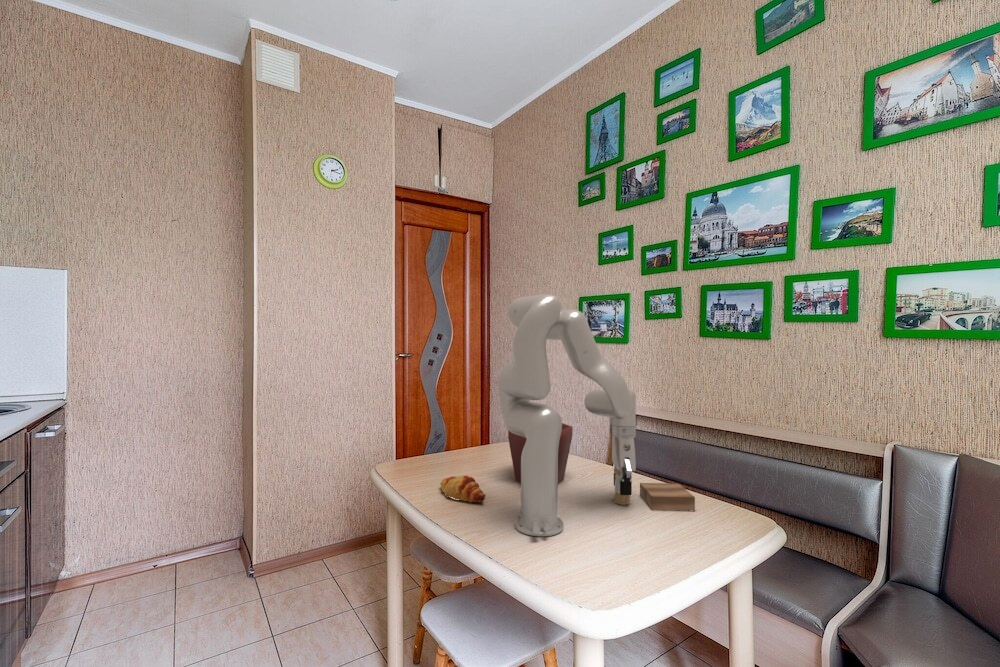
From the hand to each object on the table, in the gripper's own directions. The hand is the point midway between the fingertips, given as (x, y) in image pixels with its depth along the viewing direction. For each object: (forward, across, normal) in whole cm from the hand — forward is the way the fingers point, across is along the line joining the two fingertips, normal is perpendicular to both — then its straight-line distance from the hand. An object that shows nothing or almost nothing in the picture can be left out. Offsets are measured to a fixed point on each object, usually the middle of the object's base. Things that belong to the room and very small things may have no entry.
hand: (622, 489), depth 133 cm
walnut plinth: (+4, 0, -13) cm, 14 cm away
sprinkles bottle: (+4, 0, 0) cm, 4 cm away
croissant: (+4, +4, +48) cm, 49 cm away
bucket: (+4, +21, +23) cm, 31 cm away
